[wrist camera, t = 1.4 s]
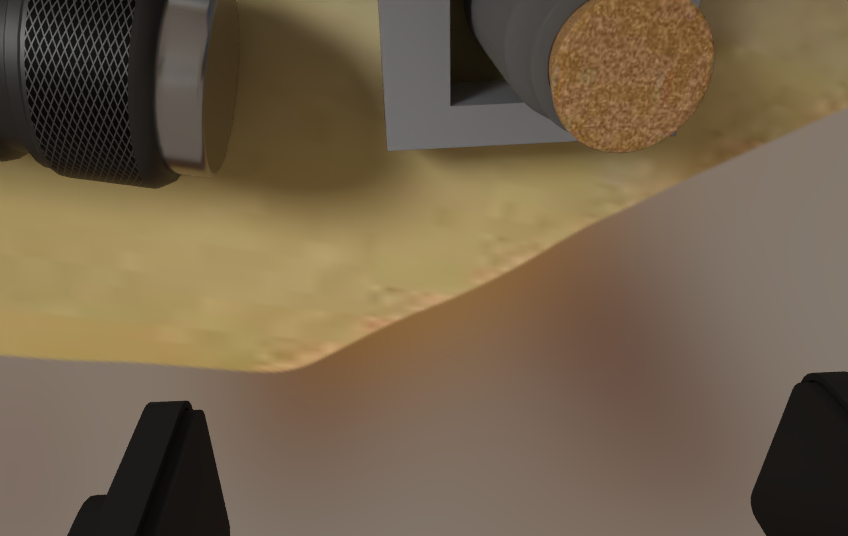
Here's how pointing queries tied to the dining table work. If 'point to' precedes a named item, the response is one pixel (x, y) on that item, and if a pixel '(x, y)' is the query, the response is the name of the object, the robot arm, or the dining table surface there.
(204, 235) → the dining table surface
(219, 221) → the dining table surface
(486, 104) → the grey cinder block
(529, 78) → the bottle
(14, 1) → the muzzle brake
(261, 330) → the dining table surface
